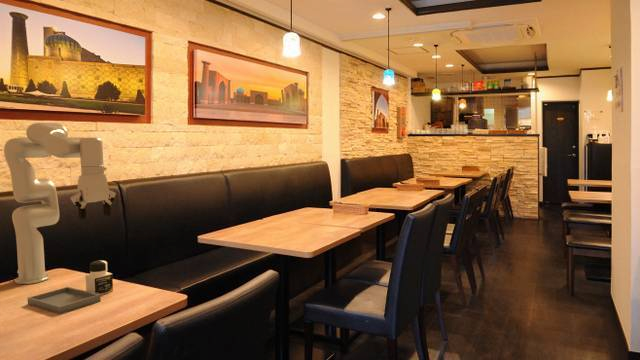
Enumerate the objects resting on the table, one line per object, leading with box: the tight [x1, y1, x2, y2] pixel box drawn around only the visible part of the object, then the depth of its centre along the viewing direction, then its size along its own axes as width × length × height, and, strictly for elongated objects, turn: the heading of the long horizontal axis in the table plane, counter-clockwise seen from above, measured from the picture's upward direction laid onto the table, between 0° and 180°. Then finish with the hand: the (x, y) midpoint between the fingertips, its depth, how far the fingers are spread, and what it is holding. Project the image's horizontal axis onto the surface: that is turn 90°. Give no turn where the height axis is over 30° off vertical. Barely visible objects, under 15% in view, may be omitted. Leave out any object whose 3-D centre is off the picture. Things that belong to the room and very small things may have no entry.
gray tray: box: [27, 286, 101, 315], centre depth 171 cm, size 20×15×2 cm
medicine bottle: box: [85, 259, 114, 296], centre depth 182 cm, size 7×7×12 cm
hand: (95, 217), depth 175 cm, fingers open, 9 cm apart
